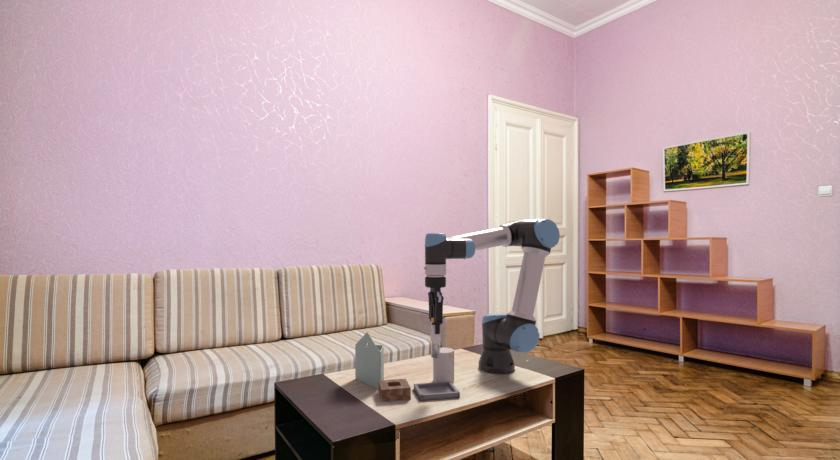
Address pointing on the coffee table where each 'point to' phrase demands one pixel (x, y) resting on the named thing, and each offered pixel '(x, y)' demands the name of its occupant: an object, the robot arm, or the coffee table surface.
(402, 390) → the block
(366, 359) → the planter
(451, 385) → the tray
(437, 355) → the pin
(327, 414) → the coffee table surface
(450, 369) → the white cylinder
